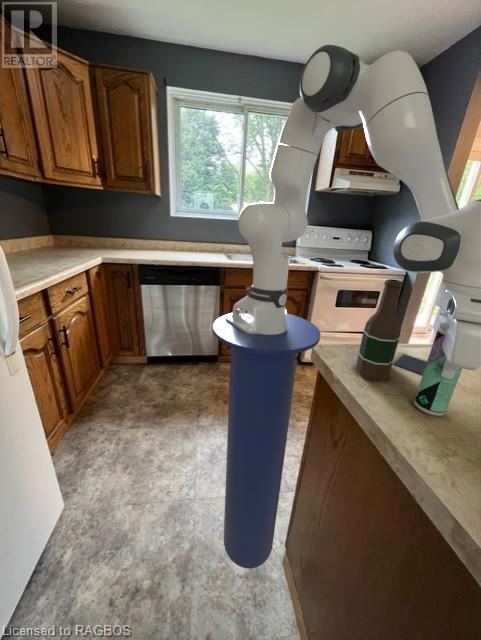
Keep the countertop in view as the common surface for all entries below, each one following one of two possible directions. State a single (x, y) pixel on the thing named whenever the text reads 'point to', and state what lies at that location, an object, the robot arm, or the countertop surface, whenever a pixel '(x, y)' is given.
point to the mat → (411, 364)
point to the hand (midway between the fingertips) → (442, 368)
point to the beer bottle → (381, 335)
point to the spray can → (436, 379)
